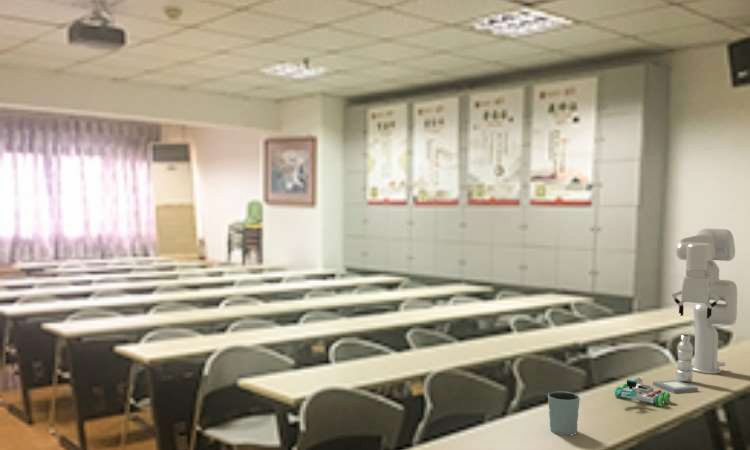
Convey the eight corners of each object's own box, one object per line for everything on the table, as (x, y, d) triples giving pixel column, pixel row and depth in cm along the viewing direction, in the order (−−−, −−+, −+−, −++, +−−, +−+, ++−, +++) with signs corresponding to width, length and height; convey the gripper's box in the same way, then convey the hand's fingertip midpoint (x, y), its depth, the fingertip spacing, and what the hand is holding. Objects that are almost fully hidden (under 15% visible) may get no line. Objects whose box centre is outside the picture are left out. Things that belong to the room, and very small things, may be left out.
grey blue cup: (585, 433, 216) (586, 397, 216) (564, 438, 210) (565, 401, 210) (561, 424, 224) (562, 389, 224) (540, 429, 219) (541, 393, 219)
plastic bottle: (689, 379, 287) (690, 334, 286) (695, 383, 280) (696, 337, 279) (673, 379, 287) (675, 333, 287) (679, 383, 281) (680, 336, 280)
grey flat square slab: (676, 383, 280) (676, 380, 280) (697, 391, 268) (697, 387, 268) (653, 385, 276) (653, 381, 276) (673, 393, 265) (673, 389, 265)
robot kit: (599, 404, 249) (600, 380, 249) (626, 391, 267) (627, 368, 267) (649, 415, 236) (650, 390, 236) (674, 401, 255) (674, 377, 254)
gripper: (721, 275, 263) (719, 317, 263) (674, 272, 272) (672, 313, 272) (719, 276, 256) (718, 320, 257) (671, 273, 265) (670, 315, 266)
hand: (694, 316), depth 265 cm, fingers open, 9 cm apart
